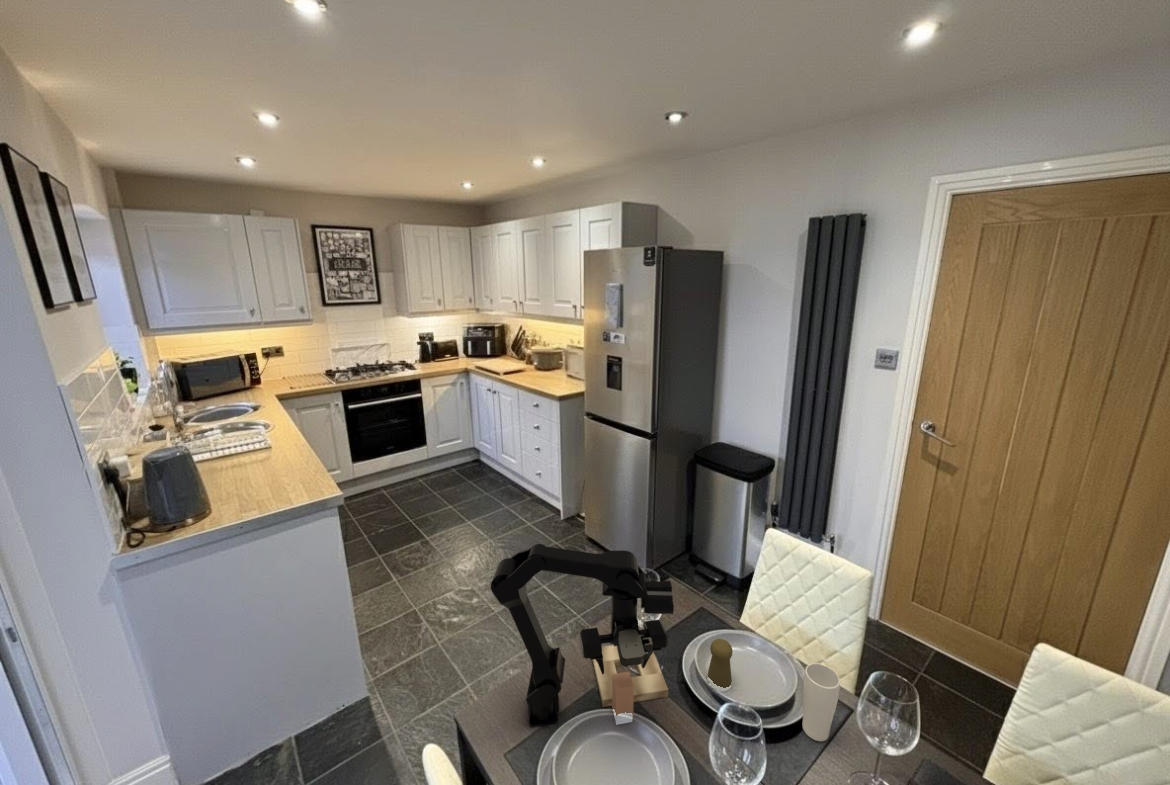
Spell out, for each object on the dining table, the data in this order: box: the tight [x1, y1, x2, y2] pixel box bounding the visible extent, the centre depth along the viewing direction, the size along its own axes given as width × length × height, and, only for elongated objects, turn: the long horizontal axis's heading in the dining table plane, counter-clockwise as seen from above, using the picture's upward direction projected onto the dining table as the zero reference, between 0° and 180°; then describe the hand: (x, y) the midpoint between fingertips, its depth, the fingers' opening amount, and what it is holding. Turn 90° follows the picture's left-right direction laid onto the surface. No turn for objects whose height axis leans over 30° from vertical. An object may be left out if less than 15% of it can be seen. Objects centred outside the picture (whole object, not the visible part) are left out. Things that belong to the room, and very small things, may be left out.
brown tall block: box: [611, 671, 635, 716], centre depth 105 cm, size 4×4×10 cm
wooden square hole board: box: [592, 645, 669, 708], centre depth 117 cm, size 16×16×2 cm
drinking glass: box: [802, 662, 841, 742], centre depth 100 cm, size 7×7×15 cm
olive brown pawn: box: [707, 638, 733, 688], centre depth 113 cm, size 6×6×11 cm
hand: (622, 669), depth 103 cm, fingers open, 9 cm apart
